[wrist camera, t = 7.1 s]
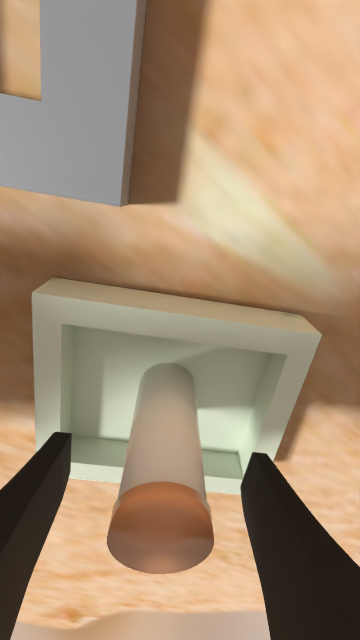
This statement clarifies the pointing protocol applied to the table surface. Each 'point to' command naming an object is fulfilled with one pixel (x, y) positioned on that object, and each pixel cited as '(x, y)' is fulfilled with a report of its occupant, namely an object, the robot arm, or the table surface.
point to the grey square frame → (78, 104)
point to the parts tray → (154, 348)
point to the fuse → (163, 480)
